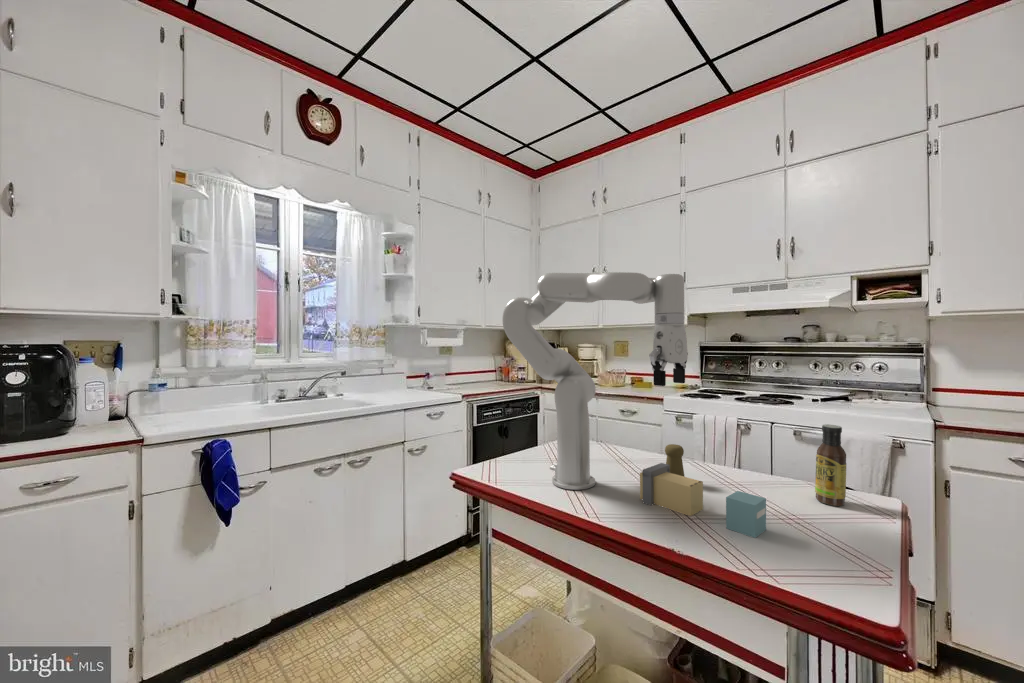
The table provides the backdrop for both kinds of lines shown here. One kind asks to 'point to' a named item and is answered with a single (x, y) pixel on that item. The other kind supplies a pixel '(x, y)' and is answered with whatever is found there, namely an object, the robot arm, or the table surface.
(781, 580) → the table surface
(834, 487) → the sauce bottle
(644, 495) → the tan oblong box
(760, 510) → the teal box
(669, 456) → the brown knobbed peg
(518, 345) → the robot arm
